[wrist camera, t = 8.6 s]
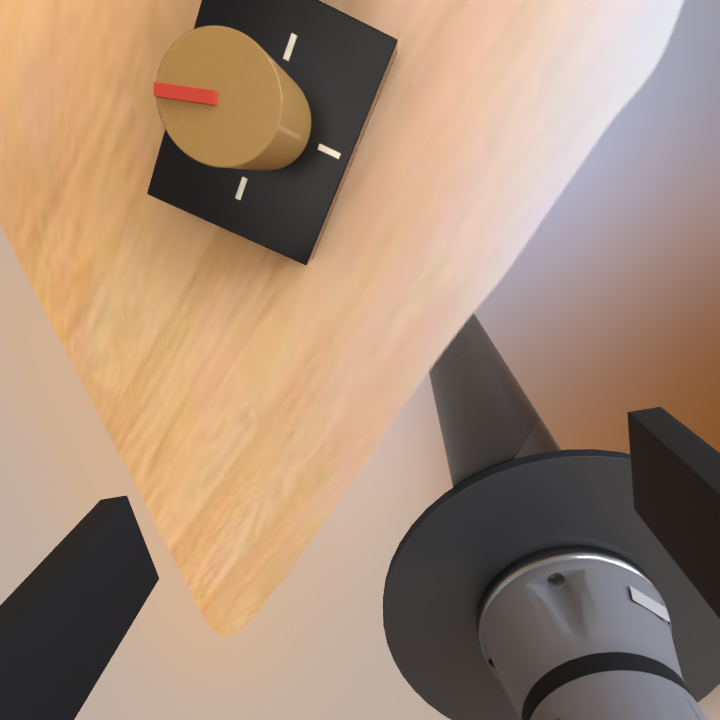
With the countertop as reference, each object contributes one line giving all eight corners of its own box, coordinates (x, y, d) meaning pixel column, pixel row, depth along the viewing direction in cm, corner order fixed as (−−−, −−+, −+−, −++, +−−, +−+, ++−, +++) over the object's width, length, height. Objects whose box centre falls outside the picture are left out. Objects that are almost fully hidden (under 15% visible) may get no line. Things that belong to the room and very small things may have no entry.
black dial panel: (312, 259, 37) (306, 266, 34) (165, 192, 36) (145, 194, 33) (397, 51, 32) (398, 38, 29) (231, -31, 31) (215, -53, 28)
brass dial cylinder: (316, 75, 30) (286, 33, 21) (306, 177, 32) (275, 176, 23) (221, 61, 30) (152, 13, 21) (216, 163, 32) (151, 157, 23)
